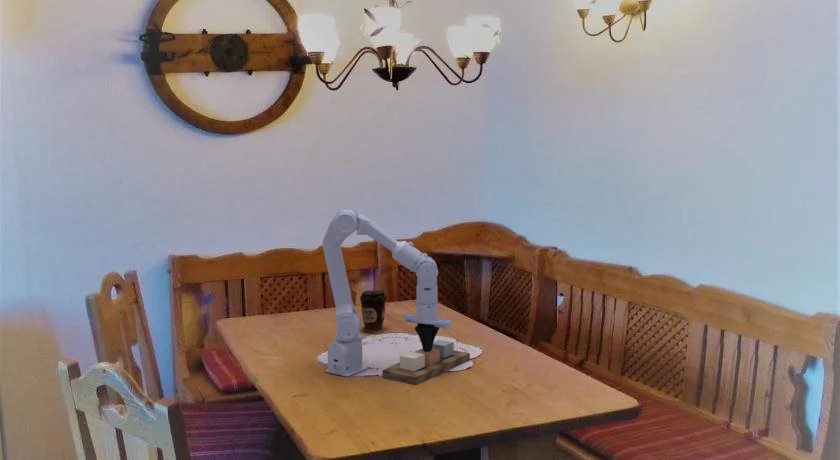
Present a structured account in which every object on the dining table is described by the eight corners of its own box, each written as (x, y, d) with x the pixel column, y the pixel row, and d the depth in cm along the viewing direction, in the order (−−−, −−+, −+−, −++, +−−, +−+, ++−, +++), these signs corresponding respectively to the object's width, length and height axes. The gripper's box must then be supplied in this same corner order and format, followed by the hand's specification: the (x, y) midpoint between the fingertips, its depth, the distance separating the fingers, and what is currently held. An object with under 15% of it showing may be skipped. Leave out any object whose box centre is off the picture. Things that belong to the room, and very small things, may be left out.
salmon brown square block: (429, 366, 216) (429, 354, 216) (415, 363, 219) (415, 351, 219) (439, 362, 220) (439, 350, 220) (425, 359, 223) (425, 347, 223)
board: (415, 385, 206) (415, 377, 206) (382, 377, 213) (382, 370, 212) (469, 360, 227) (469, 353, 227) (437, 353, 234) (437, 347, 233)
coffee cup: (374, 336, 253) (373, 295, 251) (354, 332, 258) (354, 292, 256) (391, 330, 260) (391, 291, 258) (372, 326, 265) (371, 288, 263)
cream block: (414, 371, 211) (414, 358, 210) (399, 368, 213) (399, 355, 213) (424, 366, 215) (424, 354, 214) (410, 363, 217) (410, 351, 217)
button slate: (444, 358, 222) (444, 346, 221) (429, 355, 225) (429, 343, 224) (453, 354, 226) (453, 342, 225) (439, 351, 229) (439, 339, 228)
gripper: (457, 302, 216) (457, 351, 218) (414, 296, 225) (414, 343, 227) (442, 308, 211) (443, 358, 213) (398, 301, 219) (399, 349, 221)
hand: (427, 350), depth 219 cm, fingers closed, pressing on salmon brown square block
